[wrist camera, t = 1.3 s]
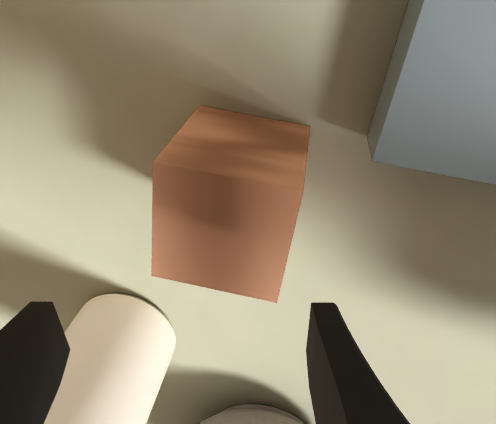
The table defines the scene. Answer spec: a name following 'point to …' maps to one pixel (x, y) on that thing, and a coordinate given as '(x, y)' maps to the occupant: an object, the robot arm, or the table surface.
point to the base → (441, 92)
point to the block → (228, 201)
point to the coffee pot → (252, 416)
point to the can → (113, 362)
